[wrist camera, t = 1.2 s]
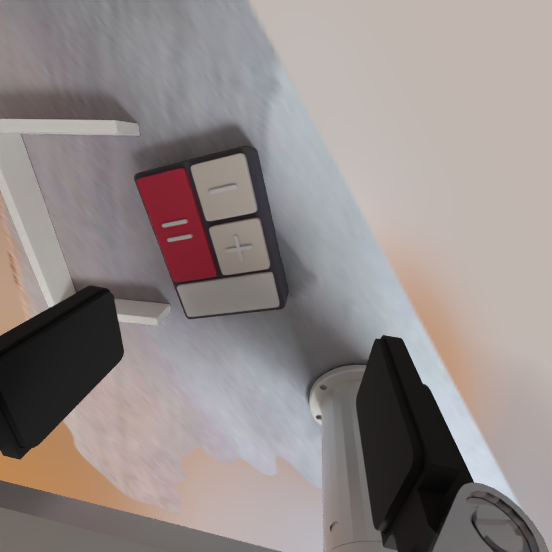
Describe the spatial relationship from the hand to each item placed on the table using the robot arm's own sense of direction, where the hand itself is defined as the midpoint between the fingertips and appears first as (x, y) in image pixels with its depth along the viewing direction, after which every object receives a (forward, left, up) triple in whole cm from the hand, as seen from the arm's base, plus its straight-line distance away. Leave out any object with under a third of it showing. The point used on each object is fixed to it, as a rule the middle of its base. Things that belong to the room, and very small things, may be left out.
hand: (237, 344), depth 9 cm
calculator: (-2, +7, -19) cm, 20 cm away
